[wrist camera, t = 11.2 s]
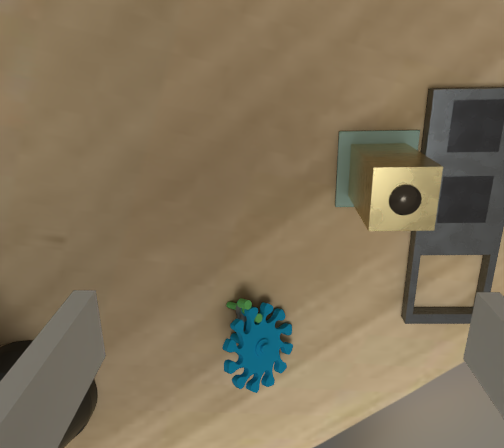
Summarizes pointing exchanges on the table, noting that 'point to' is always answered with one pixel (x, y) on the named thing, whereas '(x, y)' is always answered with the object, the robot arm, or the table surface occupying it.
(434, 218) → the wooden speaker box
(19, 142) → the table surface
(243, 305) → the blue spiky knobbed toy
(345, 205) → the translucent green panel
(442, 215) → the rail
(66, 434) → the robot arm
